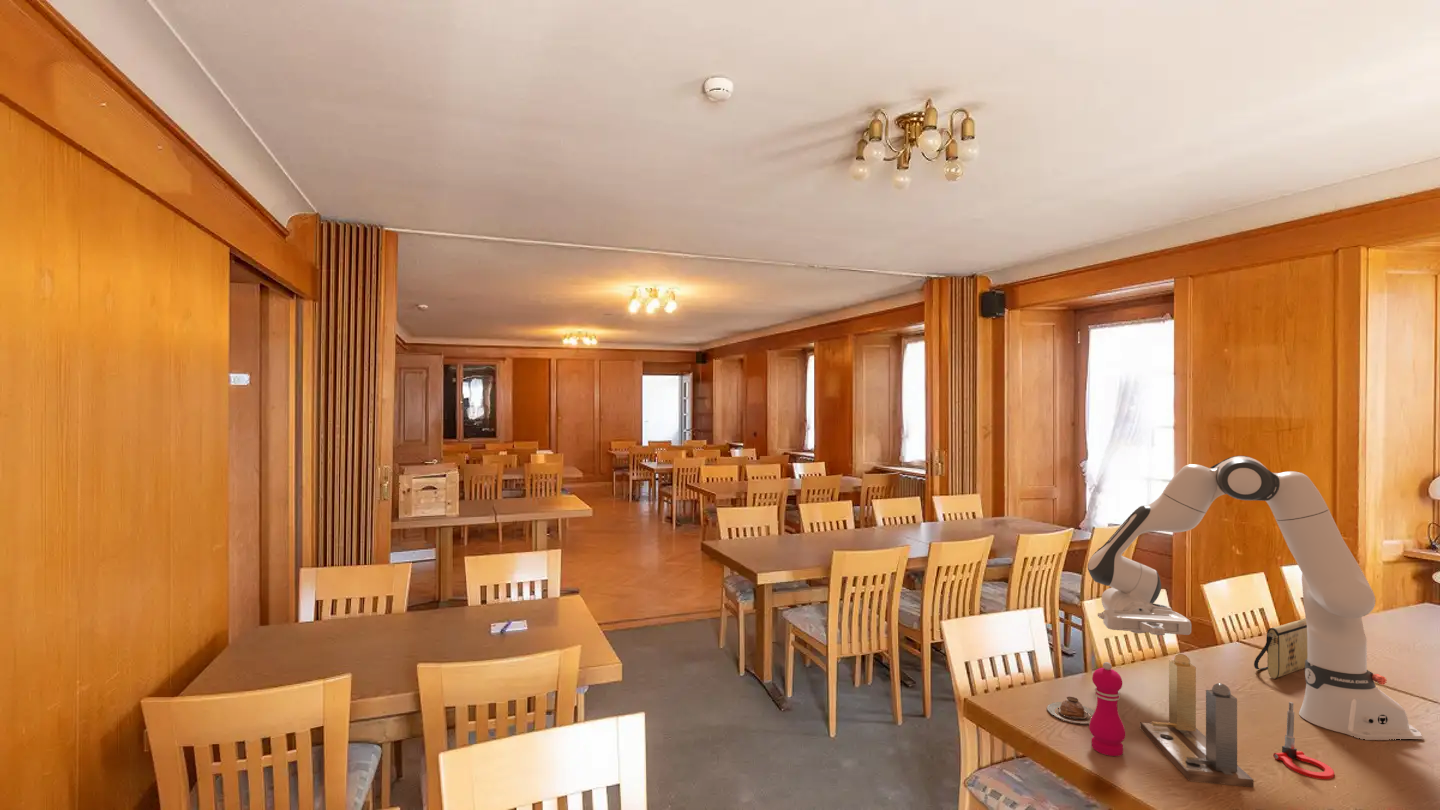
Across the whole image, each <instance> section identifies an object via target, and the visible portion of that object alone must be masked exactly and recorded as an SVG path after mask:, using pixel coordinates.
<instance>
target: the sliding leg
mask: <svg viewBox="0 0 1440 810" xmlns="http://www.w3.org/2000/svg"><path fill="white" fill-rule="evenodd" d="M1196 669H1197V667H1196V666H1195V665H1193V664H1192V663H1191V659H1190V657H1189V656H1187V655H1186V654H1184V653H1177V654H1176V655H1175V656H1174V658H1173V659H1168V722H1161V721H1151V722H1150V723H1151V724H1152V725H1153V726H1161V727H1173V728H1176V729H1177V730H1187V731H1196V728H1197V690H1196V689H1197V670H1196Z"/></svg>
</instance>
